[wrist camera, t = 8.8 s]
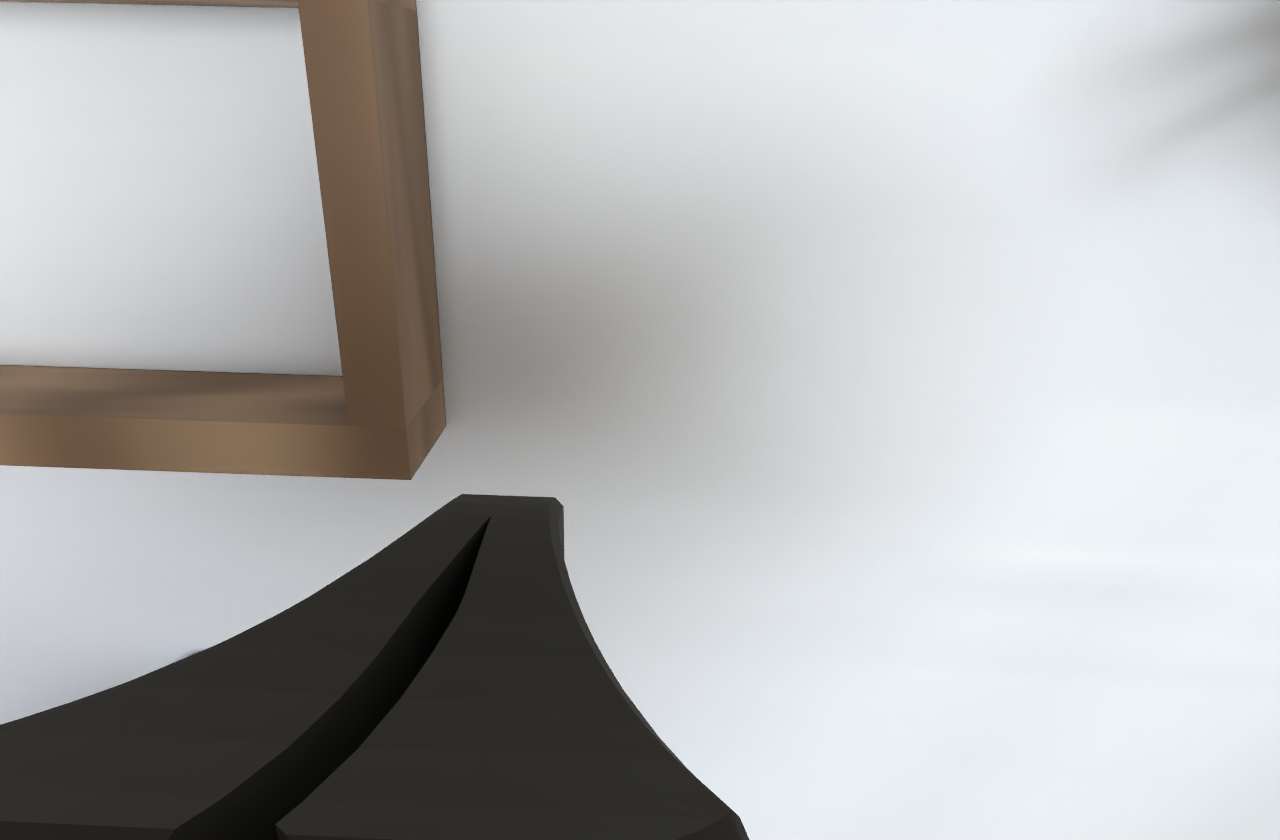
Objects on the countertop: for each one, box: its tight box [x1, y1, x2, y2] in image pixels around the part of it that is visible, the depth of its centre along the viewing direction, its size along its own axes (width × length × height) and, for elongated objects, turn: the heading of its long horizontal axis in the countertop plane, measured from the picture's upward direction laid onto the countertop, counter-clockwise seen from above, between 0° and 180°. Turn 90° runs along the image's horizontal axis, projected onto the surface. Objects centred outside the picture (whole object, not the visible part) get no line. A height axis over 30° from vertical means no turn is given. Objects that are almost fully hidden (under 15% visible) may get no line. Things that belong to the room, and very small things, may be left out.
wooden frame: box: [0, 0, 446, 480], centre depth 17 cm, size 14×10×3 cm
